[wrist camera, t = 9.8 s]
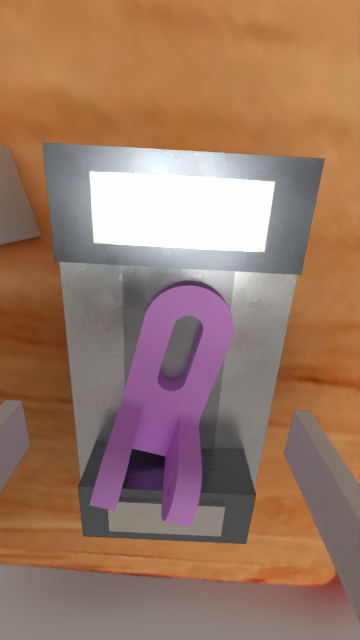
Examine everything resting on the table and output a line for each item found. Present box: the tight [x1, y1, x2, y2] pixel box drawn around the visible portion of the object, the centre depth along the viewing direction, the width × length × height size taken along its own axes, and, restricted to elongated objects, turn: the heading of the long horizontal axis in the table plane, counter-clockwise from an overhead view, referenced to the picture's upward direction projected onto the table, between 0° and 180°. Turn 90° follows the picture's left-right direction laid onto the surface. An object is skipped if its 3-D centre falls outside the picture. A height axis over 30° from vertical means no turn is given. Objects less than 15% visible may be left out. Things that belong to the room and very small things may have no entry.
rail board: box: [43, 143, 324, 544], centre depth 19 cm, size 15×26×5 cm, turn 177°
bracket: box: [90, 280, 234, 527], centre depth 17 cm, size 13×6×7 cm, turn 163°
